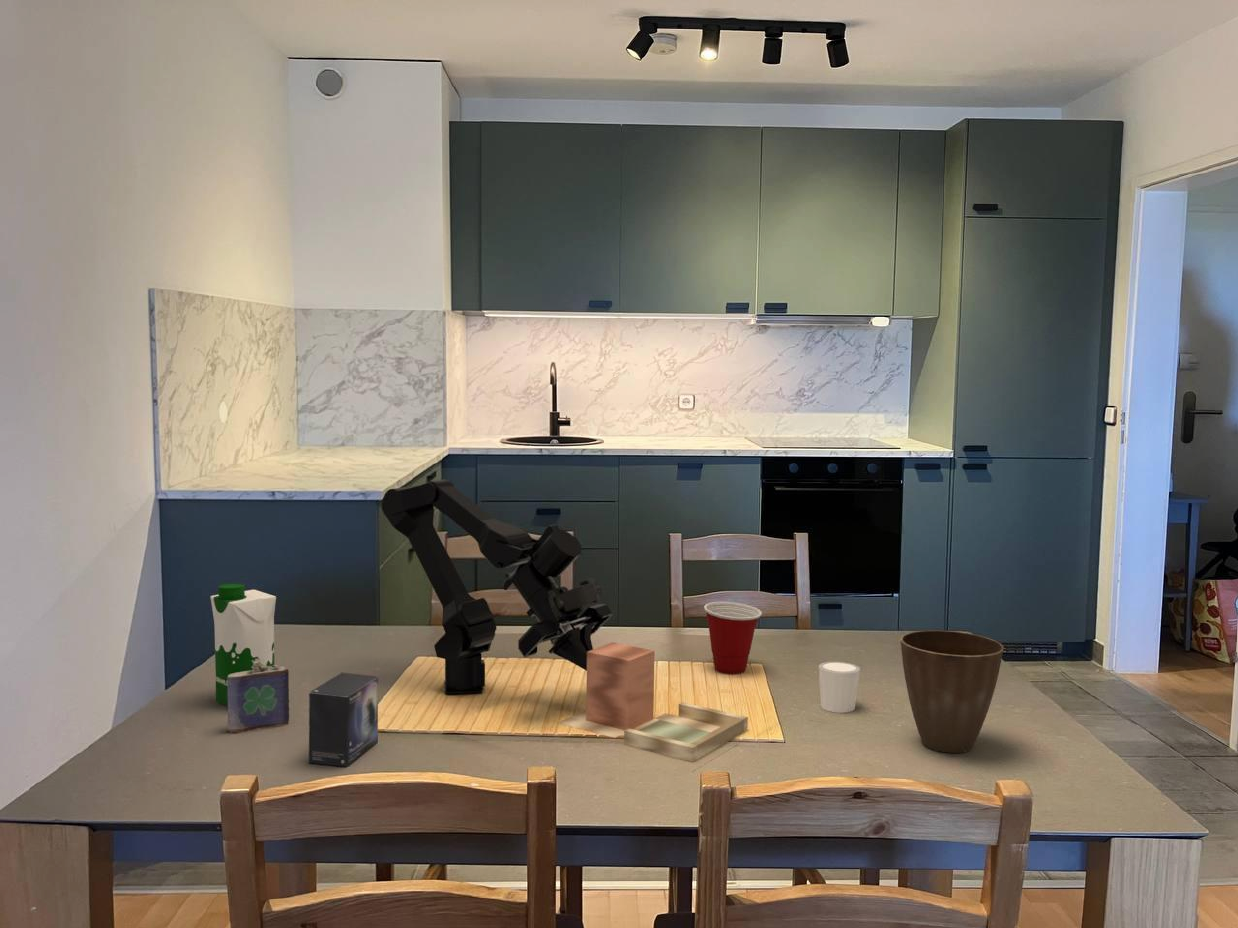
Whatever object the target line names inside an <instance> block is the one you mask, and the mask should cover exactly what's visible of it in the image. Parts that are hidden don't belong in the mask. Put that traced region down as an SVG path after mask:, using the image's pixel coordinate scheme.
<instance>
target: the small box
mask: <svg viewBox="0 0 1238 928" xmlns="http://www.w3.org/2000/svg"><path fill="white" fill-rule="evenodd" d="M308 727H309V728H308V762H307V763H310V764H319V765H320V764H321V765H329V766H337V767H349V765H351V764H352V763H354V762H355V761H356V760H357V759H359V758H360V757H362V755H364V754H365V753H366V752H368V751H369V750H370V749H372V748H373V746H375V745H376V744H378V742H379V677H378V676H375V675H366V674H357V673H350V672H340V673H339V674H337V675H335V676H334V677H332V678H331V679H329V680H327V681H325V682H324V683H322V684H320V685H318V686H317V687H315V688H314V689H312V690H311V691H309V692H308Z"/></svg>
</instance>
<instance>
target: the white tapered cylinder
mask: <svg viewBox="0 0 1238 928" xmlns="http://www.w3.org/2000/svg"><path fill="white" fill-rule="evenodd" d="M860 670H861V667H860V666H858V665H856V664H853V663H849V662H844V661H843V662H842V661H826V662H822V663H819V665H818V675H819V676H818V677H819V679H818V680H819V691H820V692H819V695H820V707H821V708H822V709H823V710H825V711H828V712H833V713H840V714H841V713H850V712H854V711H855V709H856V702H857V701H856V700H857V693H858V686H859V679H860Z"/></svg>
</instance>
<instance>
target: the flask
mask: <svg viewBox="0 0 1238 928" xmlns="http://www.w3.org/2000/svg"><path fill="white" fill-rule="evenodd" d="M260 661H261V660H260V658H258V659H255V661H253V660H252V662H253V666H252V669H253V670H250V671H244V672H237V673H233V674H230V675H228V677H227V685H228V707H227V730H228V732H229V733H230V734H233V733H237V734H238V733H245V732H248V731H249V732H251V731H258V730H260V731H261V730H263V729H265V728H267V729H270V728H274V727H276V728H277V727H279V726H287V725H290V723H289V722H290V696H289V695H290V694H289V691H290V689H289V688H290V687H289V686H290V685H289V684H290V683H289V679H290V677H289V675H290V671H289V668H287V667H286V666H278V665H276V664H274V665H273V666H274V667H272V666H265V665H263V664H261V663H260ZM269 667H272V668H269Z"/></svg>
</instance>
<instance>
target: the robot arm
mask: <svg viewBox="0 0 1238 928" xmlns="http://www.w3.org/2000/svg"><path fill="white" fill-rule="evenodd" d="M380 506H381V510H382V513H383V515H384V516H385V518H386V519H387V521H388V522H389V523H390V525H391V527H392V528H394V529H395V530H396V531H397V532H398V533H400V534H402V535H403V536H404V537H406V538H407V539H408V541H409V543H410V545H411V547H412V549H413V550H414V552H415V555H416V557H417V558H418V561H419V563H420V565H421V566H422V569H423V571H424V572H425V575H426V576H427V578H428V580H429V582H430V584H431V587H432V588H433V590H434V592H435V594H436V596H437V598H438V600H439V602H440V604H441V606H442V619H441V621H442V623H441V624H442V628H443V631H444V634H443V635H442V637H440V638H439V639H438V641H436V643H435V644H434V646H433V647H434V651H435V654H436V655H435V656H436V658H438V659H443V660H444V681H443V686H444V687H443V688H444V695H458V694H459V695H460V694H461V695H463V694H481V693H483V692H484V691H483V690H484V687H485V686H486V662H485V660H484V659H482V658H483V656H482V655H483V654H482V653H484V652H489V651H490V649H491V647H492V642H493V641H494V639H495V636H496V631H497V624H496V622H495V618H496V616H495V614H494V613H493V612H492V610H491V608H490V607H489V604H488V602H487V600H486V599H485V598H484V597H480V598H477V599H475V598H474V597H473V596H471V594H469V592H468V590H467V589H466V586H465V584H464V582H463V580H462V578H461V577H460V575H459V573H458V570H457V569H456V567H455V565H454V563H453V561H452V559H451V557H450V555H449V553H448V551H447V550H446V548H445V545H444V544H443V541H442V539H441V537H440V536H439V534H438V532H437V530H436V528H435V525H434V521H435V520H434V519H435V508H436V509H437V510H439V512H441V513H442V514H443V515H444V516H446V518H448V519H449V520H450V521H452V522H453V523H454V524H456V525H457V526H458V527H460V528H461V529H462V530H463V531H464V532H465V533H467V534H468V535H469V536H470V537H471V538H473V539H474V541H476V543H477V544H478V548H479V551H480V553H481V555H483V557H484V558H485V559H486V560H487V561H488V562H489V563H490V564H491V566H492V567H494V568H496V569H504V568H508V567H509V568H510V567H513V566H517V567H516V569H515V570H514V571H510V572H507V573H505V574H504V582H503V589H502V590H504V591H510V590H513V589H516V590H517V591H518V593H519V594H520V596H521V597H522V599H523V600H524V602H525V603H526V604H527V606H528V607H529V609H528V610H527V611H526V614H527V616H528V617H529V618H533V617H535V618H536V619H537V621H538V622H536V623H533V624H532V625H531V626H530V627H529V628H528V629H527V630H526V631H525V632H524V633H523V634H522V636H521V637H520V638H518V640H517V645H518V646H517V647H518V648H517V649H518V650H519V652H520V653H521V654H522V656H523V658H524V659H526V658H529V657H531V656H534V655H536V654H537V652H538V646H539V644H541V643H545V642H548V641H550V644H551V646H552V647H551V648H550V649H549V650H548V653H549V655H552V654H554V655H556V656H558V657H560V658H562V659H564V660H566V661H568V662H570V663H572V664H573V665H575V666H577V667H579V668H581V669H582V670H584V671H586V672H587V652H588V651H590V650H593V649H594V648H593V643H592V638H591V636H592V635H594V634H595V633H596V632H597V631H598V630H599V629H600V628H601V627H602V626H603V625H604V624H605V623H606V622H607V621H608V620H610V618H611V617H612V616H613V615H614V614H613V612H612V610H611V609H610V608H609V606H608V605H607V604H603V603H598V602H600V601H601V600H600V597H599V596H601V594H602V587H601V586H600V585H599V583H598V582H597V581H596V579H594V578H593V577H590V578H587V579H585V580H581V581H580V583H579V586H576V587H574V588H571V589H568V587H566V586H561V587H560V586H558V585H557V584H556V581H555V580H554V579H553V578H559V577H561V575H563V574H564V573H565V571H566V570H567V569H568V568H569V567H570V566H571V565H572V564H573V562H575V561H576V560H577V558H578V557H579V556H580V555H581V553H582V545H581V543H580V541H579V540H578V538H577V537H576V536H573V534H571V533H570V532H568V531H566V530H564V529H561V528H560V527H559V525H558V524H552V525H548V526H547V527H546V529H545V530H544V531H543V533H542V534H541V535H540V537H539V538H534V537H532V536H531V535H530V533H529V532H527V531H526V530H524V529H522V528H520V527H518V526H516V525H514V524H512V523H507V522H505V521H502V520H498V519H497V518H495V517H493V516H492V515H491V514H489V513H488V512H487V511H486V510H484V509H483V508H482V507H481V506H479V505H478V504H477V503H476V502H474V501H473V500H472V499H470V498H469V497H468V496H467V495H465V494H464V493H462V492H461V491H460V490H459V489H457V487H455V484H453V482H452V481H450V480H448V479H438V480H430V481H427V482H426V483H422V484H420V485H414V486H413V485H412V486H405V487H398V488H397V487H395V488H389V489H388V490H387V491H386V492H385V493H384V495H383V498H382V500H381V504H380ZM592 603H598V604H594V605H591V606H588V605H590V604H592ZM585 606H588V607H587V608H586V609H585V608H584V607H585ZM578 615H580V616H578Z"/></svg>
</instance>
